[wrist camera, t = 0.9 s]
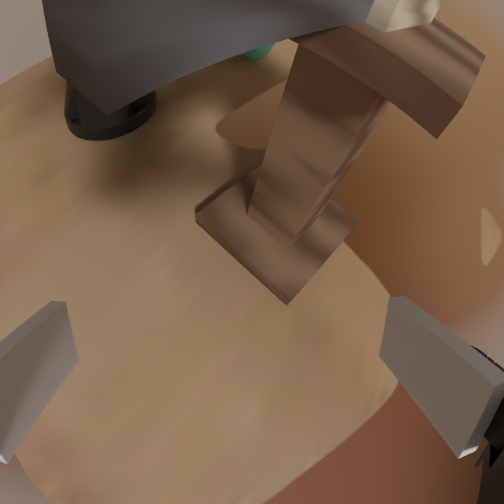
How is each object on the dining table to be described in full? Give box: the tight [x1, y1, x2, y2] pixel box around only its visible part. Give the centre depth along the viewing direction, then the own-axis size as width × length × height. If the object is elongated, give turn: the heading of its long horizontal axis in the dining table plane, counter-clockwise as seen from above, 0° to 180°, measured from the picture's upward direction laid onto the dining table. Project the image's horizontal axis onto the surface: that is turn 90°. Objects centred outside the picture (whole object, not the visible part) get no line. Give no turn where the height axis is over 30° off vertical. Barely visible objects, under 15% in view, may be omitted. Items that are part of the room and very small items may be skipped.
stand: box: [196, 18, 485, 305], centre depth 26 cm, size 16×14×28 cm
